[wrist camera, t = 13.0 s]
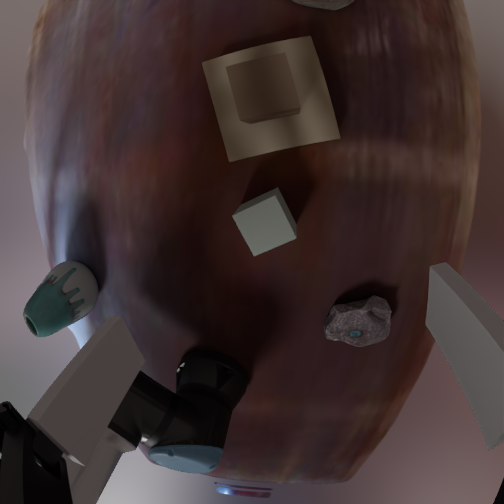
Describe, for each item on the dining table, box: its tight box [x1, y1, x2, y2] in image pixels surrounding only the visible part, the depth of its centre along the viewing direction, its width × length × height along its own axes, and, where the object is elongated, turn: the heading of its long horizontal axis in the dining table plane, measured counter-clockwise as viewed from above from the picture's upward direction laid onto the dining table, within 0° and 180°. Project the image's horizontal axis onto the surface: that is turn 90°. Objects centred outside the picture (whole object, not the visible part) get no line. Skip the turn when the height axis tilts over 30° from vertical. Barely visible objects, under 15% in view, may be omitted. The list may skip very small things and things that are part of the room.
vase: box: [23, 261, 98, 337], centre depth 42 cm, size 12×12×18 cm
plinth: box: [202, 36, 340, 162], centre depth 32 cm, size 14×14×5 cm
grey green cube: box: [232, 187, 296, 256], centre depth 37 cm, size 6×6×6 cm
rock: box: [324, 295, 392, 347], centre depth 43 cm, size 8×11×5 cm
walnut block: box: [226, 53, 301, 124], centre depth 26 cm, size 6×6×7 cm
